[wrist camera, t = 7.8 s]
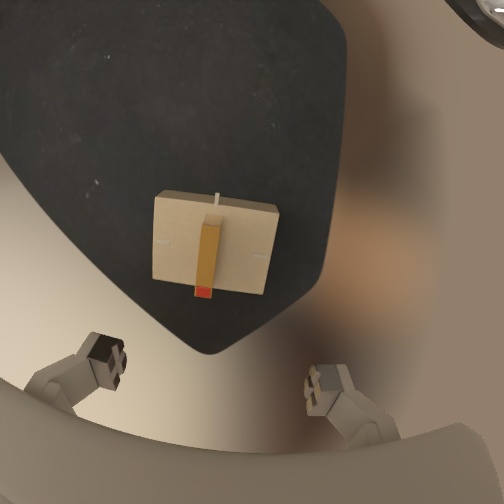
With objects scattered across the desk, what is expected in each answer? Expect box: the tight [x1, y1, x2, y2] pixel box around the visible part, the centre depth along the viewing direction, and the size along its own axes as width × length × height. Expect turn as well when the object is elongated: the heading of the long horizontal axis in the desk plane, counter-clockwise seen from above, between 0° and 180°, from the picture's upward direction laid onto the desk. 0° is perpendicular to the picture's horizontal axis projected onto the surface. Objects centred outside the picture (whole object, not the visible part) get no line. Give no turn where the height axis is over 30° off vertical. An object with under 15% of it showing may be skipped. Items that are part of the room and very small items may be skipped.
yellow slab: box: [194, 214, 224, 299], centre depth 25 cm, size 7×2×4 cm, turn 170°
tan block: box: [153, 190, 279, 294], centre depth 29 cm, size 12×11×4 cm
